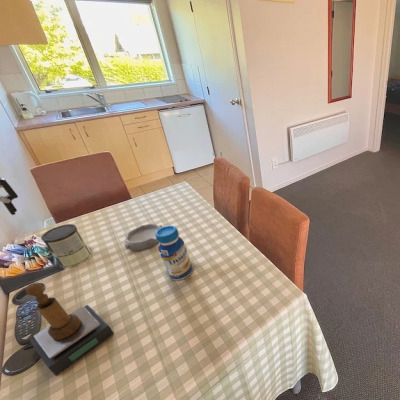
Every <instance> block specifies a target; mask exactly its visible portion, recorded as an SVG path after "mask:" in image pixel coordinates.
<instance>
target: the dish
mask: <svg viewBox="0 0 400 400" xmlns="http://www.w3.org/2000/svg"><path fill="white" fill-rule="evenodd" d="M162 227H163V225H162V224H156V223H147V224H141V225H139V226H137V227H135V228H133V229H131V230H130V231H128V233H125V239H124V240H125V243H124V247H125V248H126V249H129V250H130V251H132V252H133V251H134V252H139V251H144V250H147V249H150V248H152V247H154V246H155V245H156V244H157V243H159V242H158V240H157V238H156V235H155V233H156V231H157V230H159V229H160V228H162Z"/></svg>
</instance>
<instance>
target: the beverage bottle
mask: <svg viewBox="0 0 400 400" xmlns="http://www.w3.org/2000/svg"><path fill="white" fill-rule="evenodd" d="M155 235H156V238H157V240H158V242H157V243H159V244H158V252H159V253H160V258H161V259H162V261H163V264H164V266H165V268H166V270H167V273H168V276H169V278H170V279H171V280H174V281H180V280H184V279H186V278H188V277H189V276H190V275H191V274H192V273H193V270H194V268H193V267H194V266H193V265H192V262H191V259H190V255H189V253H188V248H187V246H186V244H185V240H183V238H182V237H180V233H179V230H178V228H177V226H175V225H165V226H162V228H160V229H159V230H157V231H156V233H155Z"/></svg>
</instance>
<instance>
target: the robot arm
mask: <svg viewBox="0 0 400 400" xmlns="http://www.w3.org/2000/svg"><path fill="white" fill-rule="evenodd" d="M0 188H1V189H2V188H3V190H5V192H6V193H7V195H1V194H0V202H1V203H2V204H3V205H4V206H5V208H6V209H7V211H8V213H9V214H10V215H11V216H14V215H16V212H17V208H16V206H15V204H14V203H13V202H12V201H13V200H15V199H17V198H18V197H19V196H18V194H17V192H16V191H15V190H14V189H13V187H12V186H11V185H10V184H9V183H8V182H7V180H6V179H4V178H3V177H0Z"/></svg>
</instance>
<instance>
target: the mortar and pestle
mask: <svg viewBox="0 0 400 400" xmlns="http://www.w3.org/2000/svg"><path fill="white" fill-rule="evenodd" d="M43 291H44V285H43V284H42V283H41V282H33V283H29V284H28V285H27V286H26V287H25V293H26V294H27V295H28V296H33V297H35V299H34V300H35V302H37V303H38V304H37V305H36V306H35V308H36V310H37V311H38V313H40V315H41V316H42V317H43V318H44V319H45V320H46V322H47V323H48V324H49V326H50V325H51V326H50V328H49V330H48V334H49V335H50V336H51V337H52V338H53V339H54V340H61V339H64V338H66V337H68V336H70V335H72V334H73V333H74V332H75V331H76V330H77V329H78V328H79V327H80V325H81V320H80V319H79V318H78V316H77V315H75V314H70V313H68V312H67V311H66V310H65V309H64V307H63V306H62V305H61V304H60V303H59V301H58V299H56V298H55V297H54V296H53V297H49V295H48V293H44V292H43ZM68 314H69V315H68Z"/></svg>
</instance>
